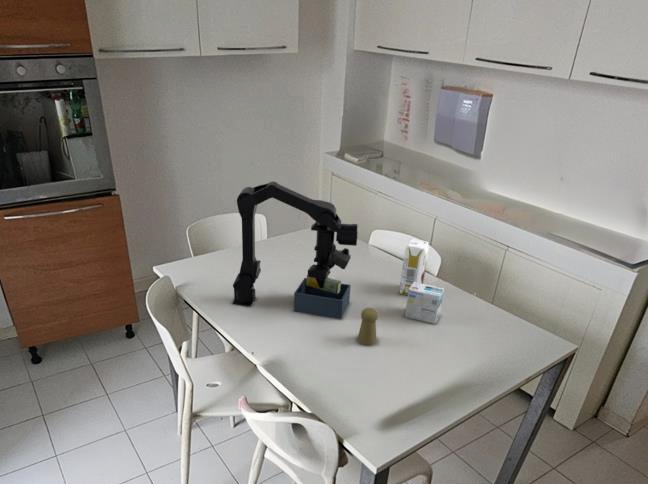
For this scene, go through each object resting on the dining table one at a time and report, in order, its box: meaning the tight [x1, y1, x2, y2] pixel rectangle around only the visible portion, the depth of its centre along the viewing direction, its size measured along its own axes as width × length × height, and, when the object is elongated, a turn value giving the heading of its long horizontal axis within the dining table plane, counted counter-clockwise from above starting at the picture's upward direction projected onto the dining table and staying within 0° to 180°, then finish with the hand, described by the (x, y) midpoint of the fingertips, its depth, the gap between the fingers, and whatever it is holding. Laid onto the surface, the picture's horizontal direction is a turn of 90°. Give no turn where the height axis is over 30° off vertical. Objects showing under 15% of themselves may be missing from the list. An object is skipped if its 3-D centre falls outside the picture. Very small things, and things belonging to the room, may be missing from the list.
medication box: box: [306, 275, 342, 294], centre depth 178 cm, size 12×3×4 cm, turn 63°
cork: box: [357, 307, 379, 347], centre depth 162 cm, size 6×6×11 cm
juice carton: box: [399, 238, 430, 296], centre depth 189 cm, size 8×9×19 cm
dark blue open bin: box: [293, 277, 352, 320], centre depth 181 cm, size 17×12×7 cm
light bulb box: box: [404, 282, 445, 325], centre depth 176 cm, size 11×7×11 cm, turn 65°
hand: (322, 285), depth 178 cm, fingers closed on medication box, 3 cm apart
